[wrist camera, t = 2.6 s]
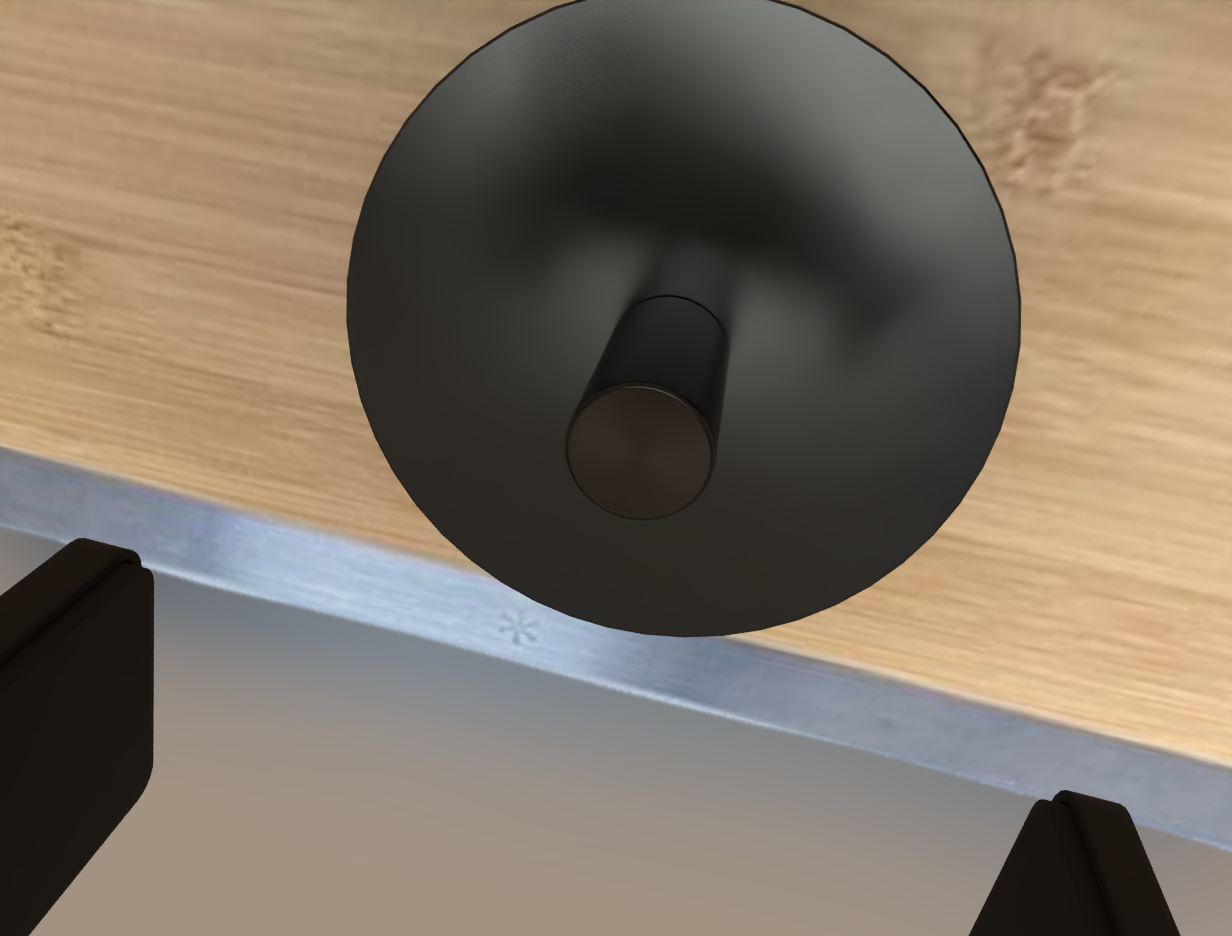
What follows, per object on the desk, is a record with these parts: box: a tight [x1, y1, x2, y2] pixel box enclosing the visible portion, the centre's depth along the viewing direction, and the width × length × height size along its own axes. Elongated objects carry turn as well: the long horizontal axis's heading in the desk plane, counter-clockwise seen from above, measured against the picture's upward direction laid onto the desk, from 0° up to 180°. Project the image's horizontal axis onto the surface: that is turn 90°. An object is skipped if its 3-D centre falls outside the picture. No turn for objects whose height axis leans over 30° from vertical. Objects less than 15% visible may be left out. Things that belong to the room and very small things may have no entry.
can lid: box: [346, 0, 1021, 637], centre depth 19 cm, size 13×13×6 cm
